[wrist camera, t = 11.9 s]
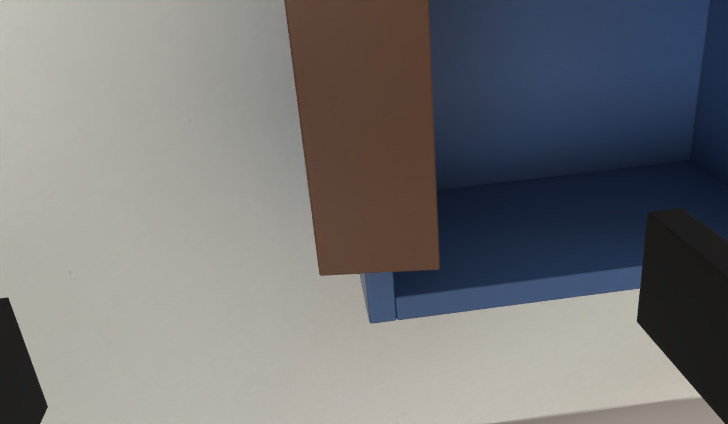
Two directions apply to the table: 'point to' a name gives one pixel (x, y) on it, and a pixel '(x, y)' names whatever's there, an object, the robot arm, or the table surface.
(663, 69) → the bin
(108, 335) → the table surface
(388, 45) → the two-tone wooden bracket
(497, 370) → the table surface
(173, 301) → the table surface
